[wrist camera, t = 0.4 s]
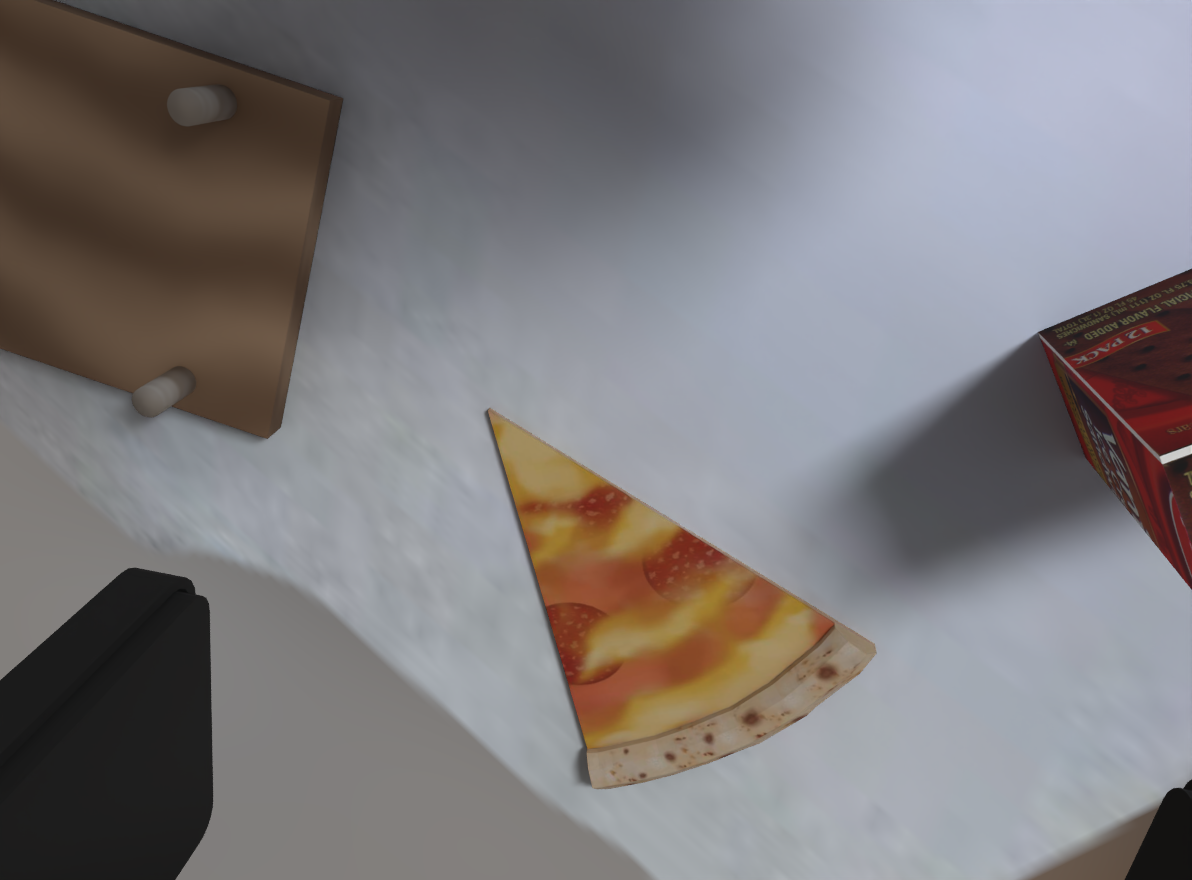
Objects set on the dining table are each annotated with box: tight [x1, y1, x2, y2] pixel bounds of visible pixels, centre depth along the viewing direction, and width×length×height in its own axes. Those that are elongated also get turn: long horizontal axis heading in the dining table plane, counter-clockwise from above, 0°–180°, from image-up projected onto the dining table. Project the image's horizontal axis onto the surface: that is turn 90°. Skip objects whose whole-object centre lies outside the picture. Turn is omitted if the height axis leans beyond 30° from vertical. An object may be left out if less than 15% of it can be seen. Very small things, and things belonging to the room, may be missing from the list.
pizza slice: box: [488, 408, 876, 789], centre depth 48 cm, size 16×22×2 cm
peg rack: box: [0, 0, 343, 439], centre depth 43 cm, size 16×20×4 cm
